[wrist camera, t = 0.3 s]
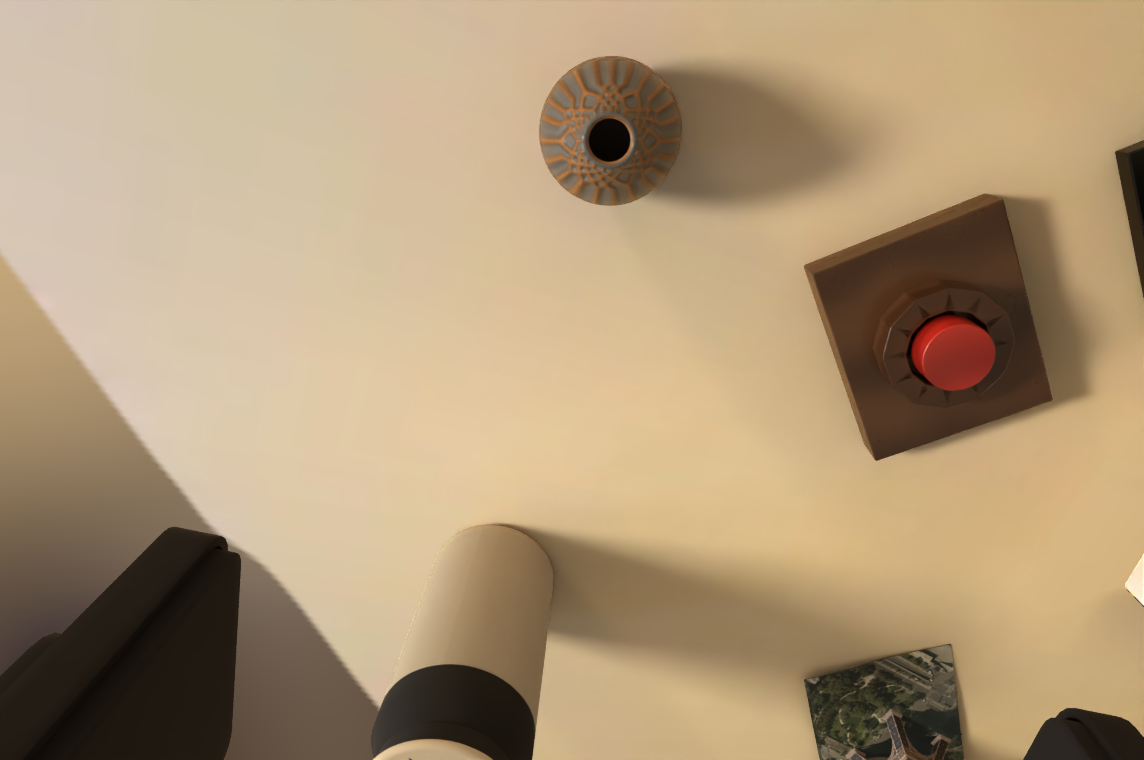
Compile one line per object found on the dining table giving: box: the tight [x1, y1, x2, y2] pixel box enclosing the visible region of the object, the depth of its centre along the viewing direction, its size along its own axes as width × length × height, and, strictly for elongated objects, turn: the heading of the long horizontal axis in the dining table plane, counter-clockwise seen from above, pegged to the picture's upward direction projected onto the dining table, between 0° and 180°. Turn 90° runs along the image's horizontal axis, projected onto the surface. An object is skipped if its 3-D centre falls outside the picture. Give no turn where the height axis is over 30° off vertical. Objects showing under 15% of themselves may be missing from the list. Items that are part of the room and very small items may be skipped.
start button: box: [911, 315, 995, 391], centre depth 40 cm, size 4×4×2 cm
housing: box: [804, 194, 1053, 461], centre depth 43 cm, size 12×10×4 cm
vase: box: [539, 56, 682, 206], centre depth 37 cm, size 7×7×9 cm
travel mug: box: [371, 525, 554, 760], centre depth 44 cm, size 8×8×18 cm
